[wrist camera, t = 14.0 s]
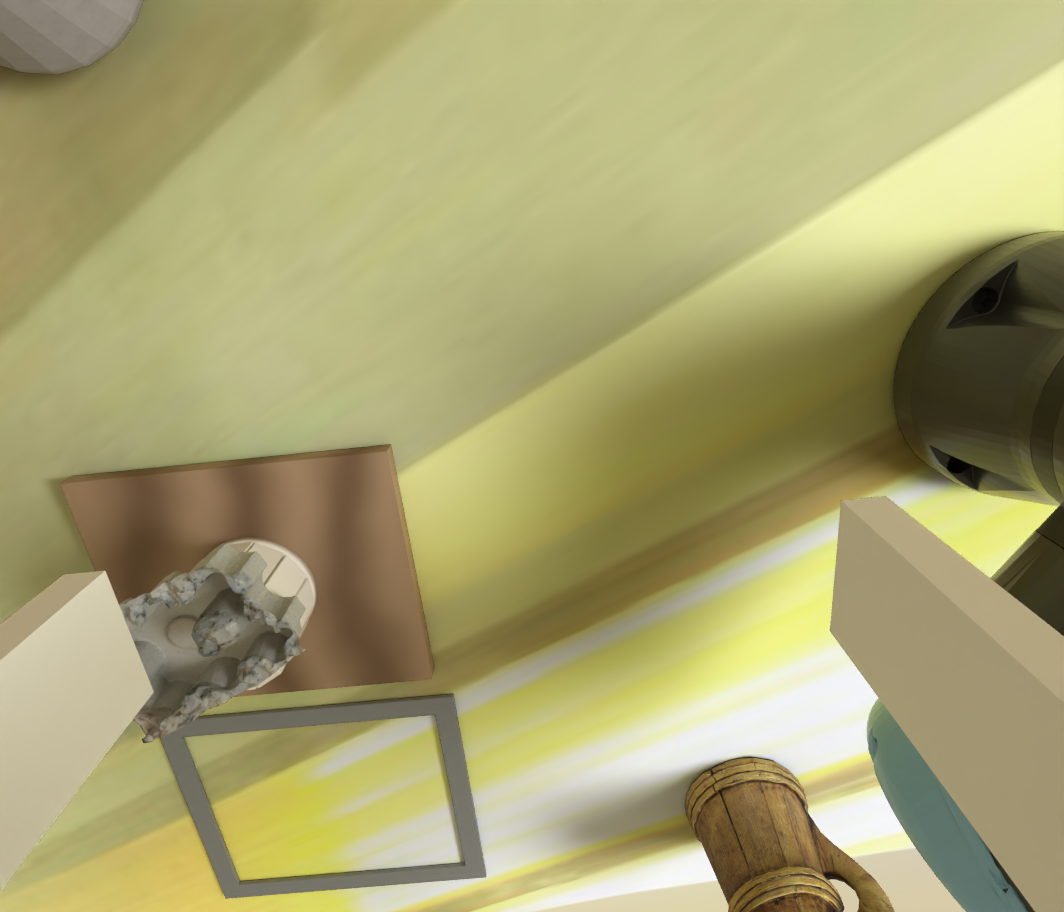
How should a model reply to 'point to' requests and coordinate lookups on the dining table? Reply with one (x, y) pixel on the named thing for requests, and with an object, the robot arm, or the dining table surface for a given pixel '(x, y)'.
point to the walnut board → (291, 520)
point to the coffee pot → (62, 32)
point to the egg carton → (209, 637)
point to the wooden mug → (771, 843)
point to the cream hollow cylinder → (281, 577)
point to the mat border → (325, 715)
